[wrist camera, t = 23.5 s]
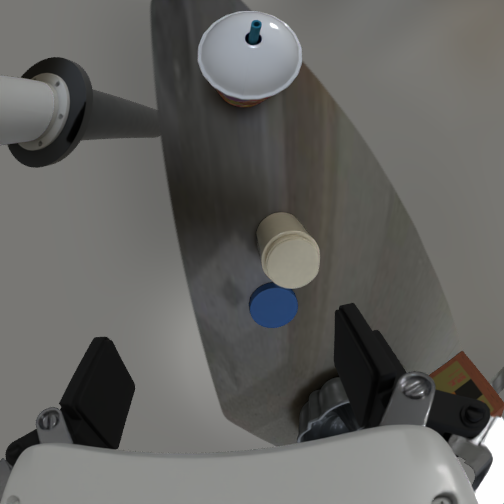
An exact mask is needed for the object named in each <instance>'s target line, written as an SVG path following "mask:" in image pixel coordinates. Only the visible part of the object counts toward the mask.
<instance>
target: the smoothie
mask: <svg viewBox="0 0 504 504" xmlns="http://www.w3.org/2000/svg"><path fill="white" fill-rule="evenodd" d="M198 64H199V66H200V69H201V72H202V74H203V76H204V77H205V78H206V79H207V81H208V82H209V83H210V84H211V85H212V87H214V88H215V89H216V91H217V92H218V93H219V94H220V96H221V97H222V98H223V99H224V100H225V101H226V102H228V103H230V104H231V105H234V106H238V107H251V106H254V105H257V104H259V103H261V102H263V101H264V100H266V99H268V98H269V97H271V96H274V95H276V94H278V93H279V92H281V91H282V90H284V89H285V88H287V87H288V86H289V85H290V84H291V83H292V82H293V80H294V79H295V78H296V77H297V76H298V73H299V70H300V67H301V64H302V48H301V45H300V43H299V40H298V38H297V36H296V34H295V33H294V32H293V31H292V29H291V28H290V27H289V26H288V25H287V24H286V23H285V22H283V21H281V20H280V19H278V18H276V17H275V16H273V15H269V14H266V13H263V12H259V11H240V12H236V13H232V14H228V15H226V16H224V17H222V18H221V19H219V20H217V21H216V22H214V23H213V24H212V25H211V26H210V27H209V28H208V29H207V30H206V31H205V33H204V34H203V36H202V38H201V41H200V43H199V46H198Z"/></svg>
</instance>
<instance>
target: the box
mask: <svg viewBox="0 0 504 504" xmlns="http://www.w3.org/2000/svg"><path fill="white" fill-rule="evenodd" d="M429 376H430V377H431V378H432V379H433V380H434V383H435V385H436V387H435V389H436V390H440V391H444V392H448V393H452V394H456V395H460V396H464V397H468V398H473V399H477V400H480V401H482V402H483V403H485V404H486V405H487V407H488V408H489V410H490V415H491V416H492V417H494V418H495V417H496V416H499V417H501V415H502V413H503V410H504V402H503V401H502V399H501V398H500V397H499V395H498V394H497V393H496V391H495V390H494V389H493V388H492V386H491V385H490V384H489V382H488V381H487V380H486V379H485V377H484V376H483V375H482V374H481V373H480V371H479V370H478V369H477V368H476V366H475V365H474V364H473V363H472V362H471V360H470V359H469V358H468V357H467V356H466V354H465V353H464V352H463V351H461V352H460V353H459V354H458V355H456V356H455V357H454V358H452V359H451V360H450V361H448V362H447V363H446V364H444V365H443V366H442V367H440V368H439V369H437V370H436V371H434V372H433V373H432V374H430V375H429Z"/></svg>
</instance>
